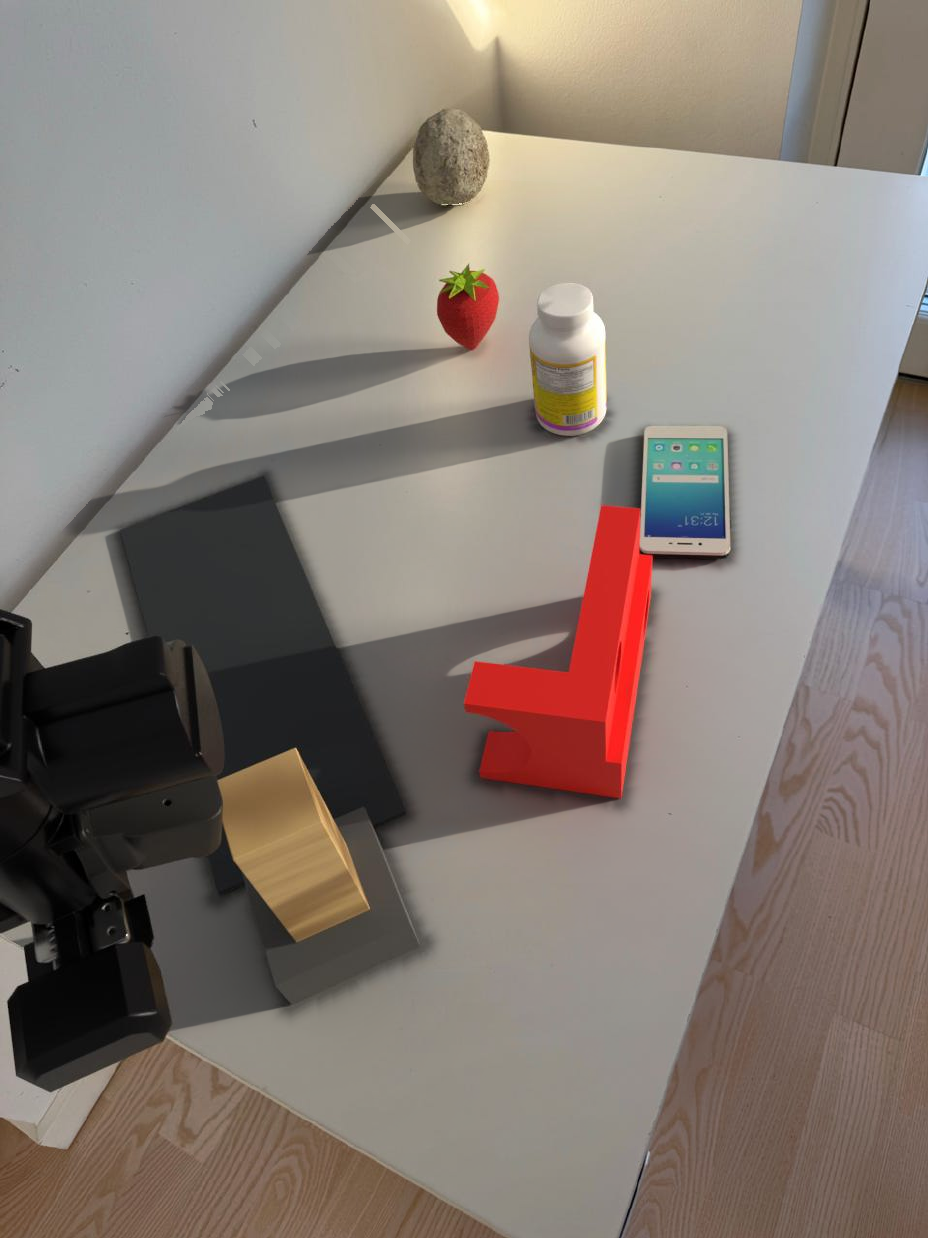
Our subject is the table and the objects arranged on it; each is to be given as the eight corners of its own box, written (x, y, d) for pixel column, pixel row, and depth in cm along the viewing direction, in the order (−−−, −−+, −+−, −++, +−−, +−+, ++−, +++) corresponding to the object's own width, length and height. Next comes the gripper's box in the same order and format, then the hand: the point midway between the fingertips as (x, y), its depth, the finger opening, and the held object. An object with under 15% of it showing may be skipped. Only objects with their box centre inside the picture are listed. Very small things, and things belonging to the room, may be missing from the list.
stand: (420, 946, 65) (410, 925, 62) (291, 1005, 64) (274, 986, 61) (375, 831, 70) (364, 806, 67) (255, 883, 69) (238, 860, 66)
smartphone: (728, 425, 89) (732, 553, 80) (727, 432, 89) (731, 560, 81) (643, 424, 90) (638, 551, 81) (643, 431, 91) (637, 558, 82)
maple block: (370, 910, 63) (322, 821, 53) (296, 943, 62) (232, 860, 52) (345, 843, 66) (295, 746, 55) (274, 874, 65) (210, 782, 55)
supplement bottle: (559, 382, 96) (553, 266, 86) (619, 404, 93) (620, 287, 83) (521, 425, 93) (510, 310, 83) (582, 448, 91) (578, 332, 80)
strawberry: (512, 327, 102) (504, 240, 94) (489, 375, 98) (478, 288, 90) (459, 321, 104) (446, 235, 96) (434, 368, 100) (418, 282, 92)
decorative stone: (479, 225, 114) (468, 140, 106) (410, 221, 116) (395, 137, 108) (503, 176, 119) (495, 92, 111) (436, 173, 122) (424, 90, 114)
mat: (406, 813, 71) (405, 811, 71) (219, 895, 69) (218, 893, 69) (265, 478, 93) (263, 475, 93) (121, 532, 91) (119, 529, 91)
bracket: (622, 724, 61) (463, 703, 64) (621, 798, 70) (480, 778, 72) (654, 509, 72) (516, 498, 74) (650, 596, 80) (526, 583, 82)
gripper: (224, 922, 38) (321, 1030, 50) (132, 581, 49) (230, 739, 61) (-68, 1051, 36) (107, 1130, 49) (-95, 669, 47) (53, 813, 59)
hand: (132, 931), depth 54 cm, fingers open, 3 cm apart
